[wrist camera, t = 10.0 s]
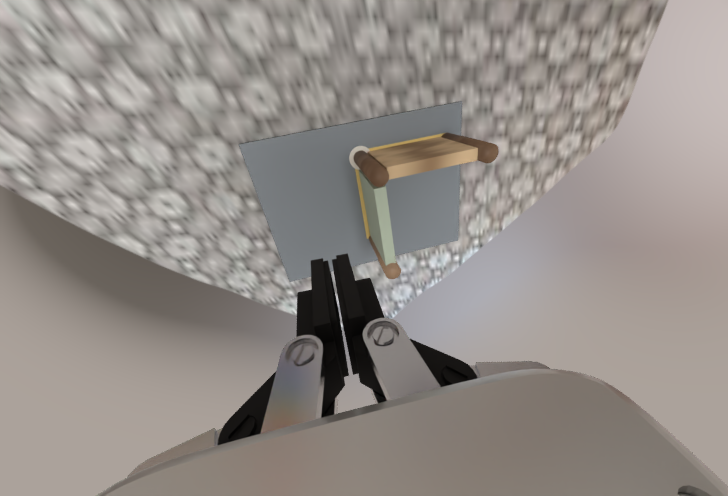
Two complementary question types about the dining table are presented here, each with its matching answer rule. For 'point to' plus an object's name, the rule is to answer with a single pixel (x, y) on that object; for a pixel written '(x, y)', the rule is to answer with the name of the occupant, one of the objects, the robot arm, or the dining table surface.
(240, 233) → the dining table surface
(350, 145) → the card
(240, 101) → the dining table surface
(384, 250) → the fence gate
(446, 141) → the fence fixed
